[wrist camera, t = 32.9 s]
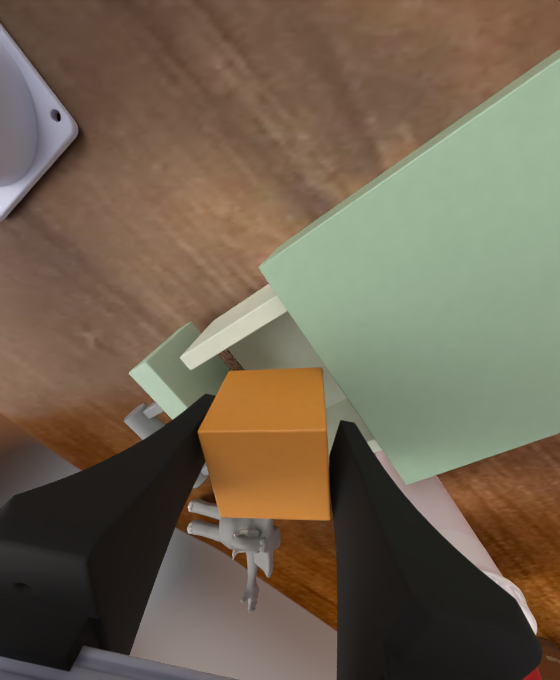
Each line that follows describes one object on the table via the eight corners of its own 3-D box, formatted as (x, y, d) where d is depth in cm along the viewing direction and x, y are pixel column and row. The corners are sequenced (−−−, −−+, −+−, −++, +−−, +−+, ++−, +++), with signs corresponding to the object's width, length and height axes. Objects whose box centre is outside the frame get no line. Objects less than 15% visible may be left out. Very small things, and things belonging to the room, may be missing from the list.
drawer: (227, 463, 22) (203, 532, 17) (132, 361, 19) (71, 410, 14) (442, 365, 17) (493, 425, 12) (358, 206, 14) (383, 202, 9)
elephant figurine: (171, 456, 24) (255, 466, 19) (222, 450, 29) (301, 456, 24) (157, 600, 21) (252, 655, 16) (217, 567, 26) (304, 601, 21)
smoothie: (364, 422, 20) (454, 771, 8) (456, 434, 20) (711, 821, 7) (347, 485, 23) (393, 822, 10) (428, 497, 23) (580, 861, 10)
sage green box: (374, 395, 19) (406, 485, 13) (279, 245, 16) (257, 267, 10) (609, 288, 15) (828, 342, 9) (545, 58, 12) (820, -124, 6)
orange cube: (242, 442, 15) (219, 518, 11) (228, 370, 13) (195, 431, 9) (326, 441, 14) (331, 521, 10) (322, 366, 12) (327, 430, 9)
